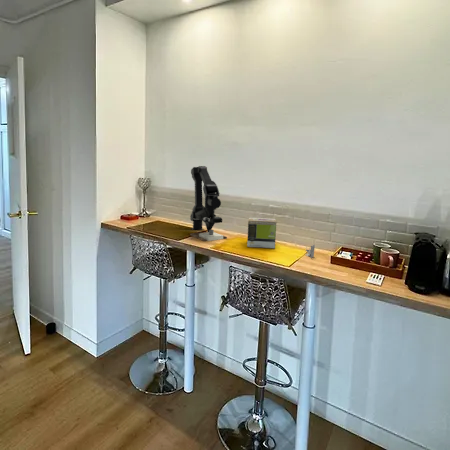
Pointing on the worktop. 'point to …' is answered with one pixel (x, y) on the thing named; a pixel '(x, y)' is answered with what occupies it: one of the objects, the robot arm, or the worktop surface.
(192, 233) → the brown flat slab
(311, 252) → the architectural model
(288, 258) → the worktop surface
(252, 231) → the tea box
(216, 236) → the cover plate
